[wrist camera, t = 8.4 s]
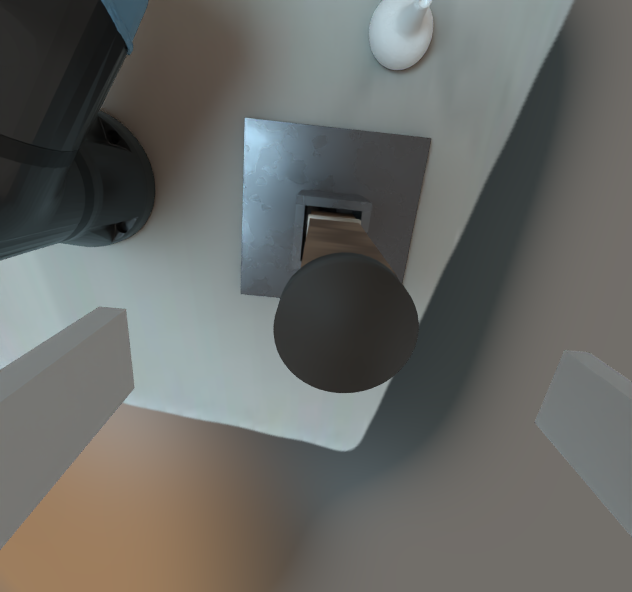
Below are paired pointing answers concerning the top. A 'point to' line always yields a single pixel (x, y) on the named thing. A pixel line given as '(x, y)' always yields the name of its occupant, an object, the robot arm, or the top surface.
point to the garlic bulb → (400, 32)
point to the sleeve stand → (323, 193)
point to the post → (344, 310)
